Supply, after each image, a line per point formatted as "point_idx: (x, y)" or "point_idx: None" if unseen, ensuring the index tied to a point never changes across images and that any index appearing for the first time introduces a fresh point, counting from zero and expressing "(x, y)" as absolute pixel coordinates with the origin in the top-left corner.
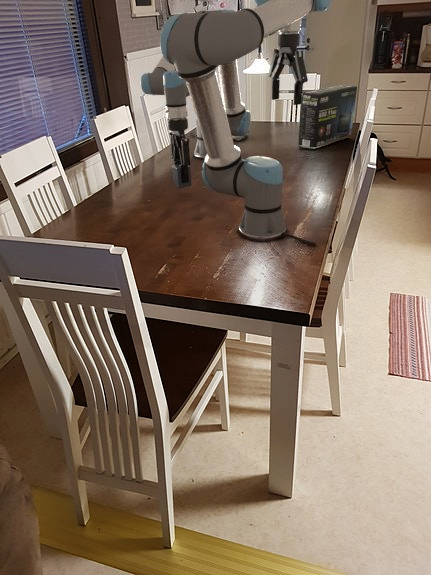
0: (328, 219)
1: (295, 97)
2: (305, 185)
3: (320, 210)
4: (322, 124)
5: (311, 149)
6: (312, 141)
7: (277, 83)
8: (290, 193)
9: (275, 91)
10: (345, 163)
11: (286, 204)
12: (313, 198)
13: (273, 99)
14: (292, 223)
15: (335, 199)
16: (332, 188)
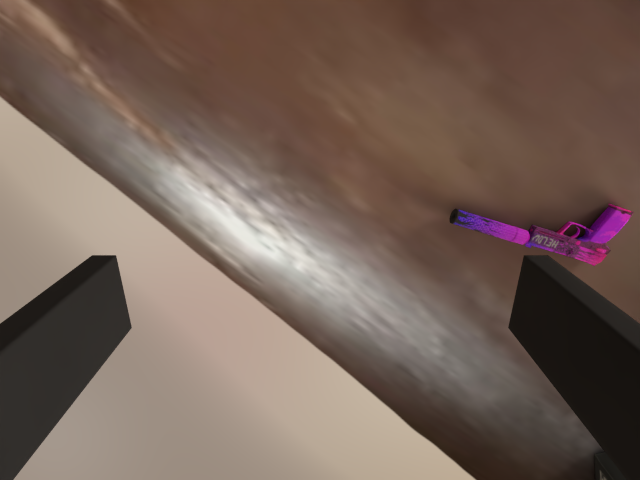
0: (69, 141)
1: (42, 299)
2: (352, 257)
3: (143, 165)
4: None
5: (603, 453)
6: (620, 477)
7: (634, 442)
8: (316, 175)
9: (568, 336)
10: (439, 447)
11: (234, 104)
12: (241, 209)
13: (524, 266)
14: (75, 18)
15: (204, 255)
16: (286, 302)
